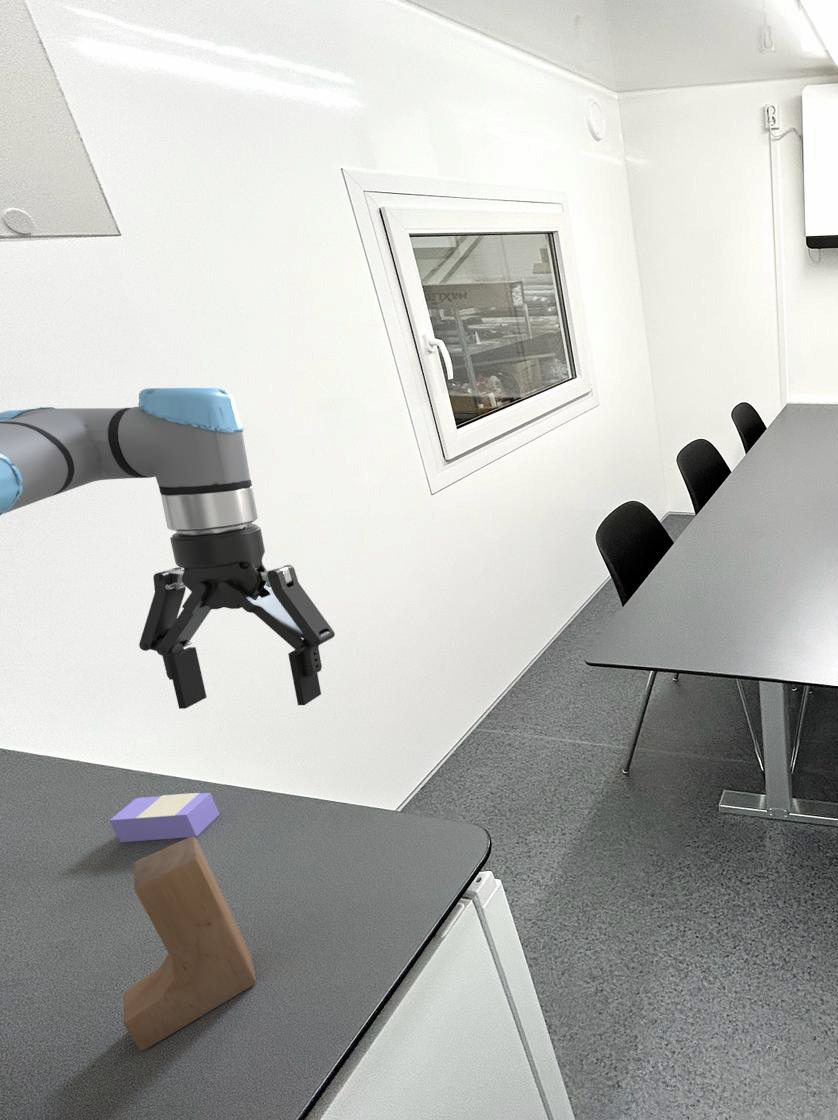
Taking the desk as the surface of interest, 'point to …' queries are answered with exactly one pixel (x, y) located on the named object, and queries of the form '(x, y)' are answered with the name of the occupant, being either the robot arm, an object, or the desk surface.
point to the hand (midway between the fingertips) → (251, 701)
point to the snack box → (165, 817)
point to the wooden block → (185, 945)
